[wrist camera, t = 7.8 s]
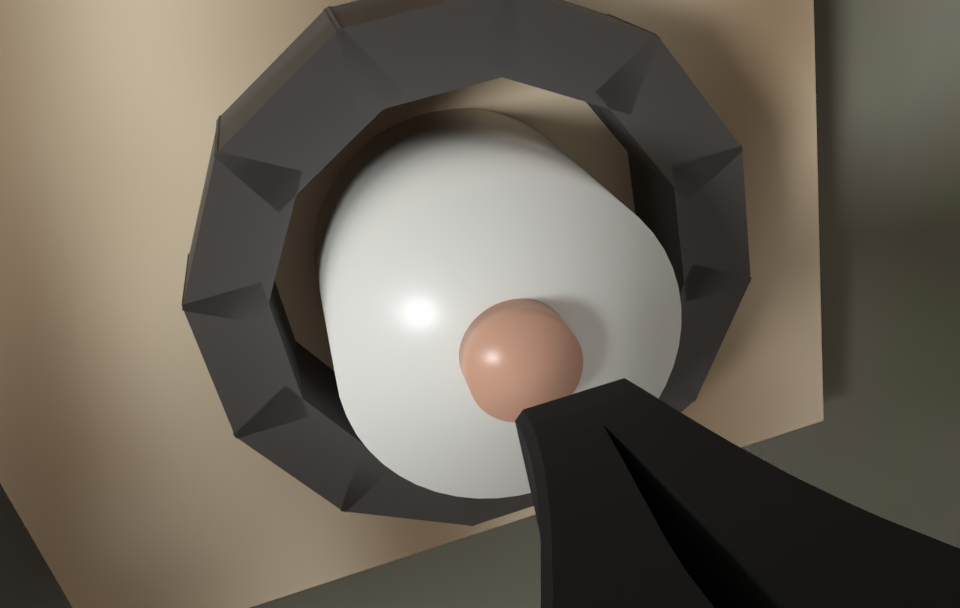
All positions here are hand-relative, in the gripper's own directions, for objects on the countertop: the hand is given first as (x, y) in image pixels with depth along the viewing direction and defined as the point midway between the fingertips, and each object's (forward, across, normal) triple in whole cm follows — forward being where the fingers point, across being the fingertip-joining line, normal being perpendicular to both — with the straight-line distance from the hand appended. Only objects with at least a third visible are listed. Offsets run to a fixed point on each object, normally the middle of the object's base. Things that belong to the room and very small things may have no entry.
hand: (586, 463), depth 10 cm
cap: (+7, 0, 0) cm, 7 cm away
